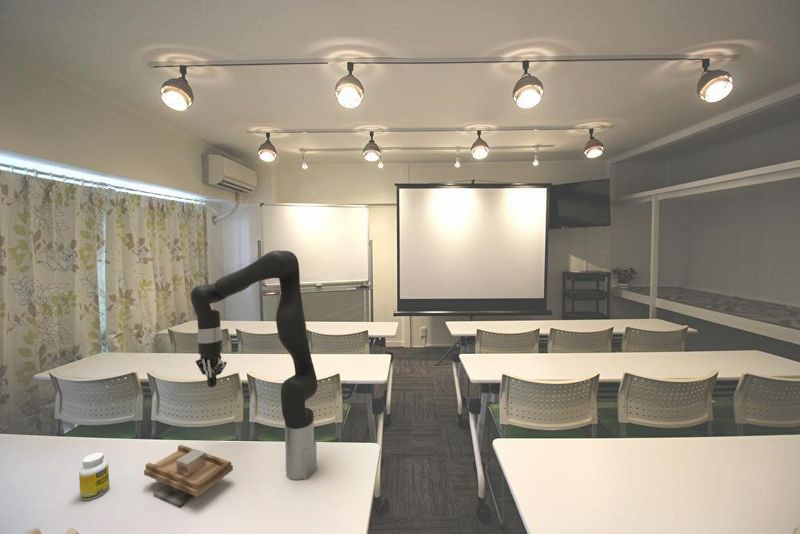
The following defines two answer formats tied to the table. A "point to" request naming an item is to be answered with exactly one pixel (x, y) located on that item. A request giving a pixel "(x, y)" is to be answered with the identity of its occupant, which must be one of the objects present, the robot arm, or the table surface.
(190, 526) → the table surface
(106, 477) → the pill bottle
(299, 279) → the robot arm
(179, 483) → the wooden tray
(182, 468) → the block
